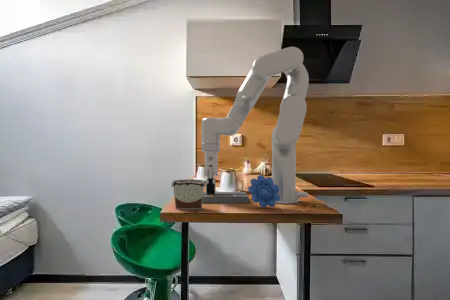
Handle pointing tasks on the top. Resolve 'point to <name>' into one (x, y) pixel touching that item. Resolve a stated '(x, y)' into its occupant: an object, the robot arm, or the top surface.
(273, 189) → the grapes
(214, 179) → the fader tab
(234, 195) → the fader base
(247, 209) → the top surface
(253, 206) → the top surface
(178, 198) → the food container
